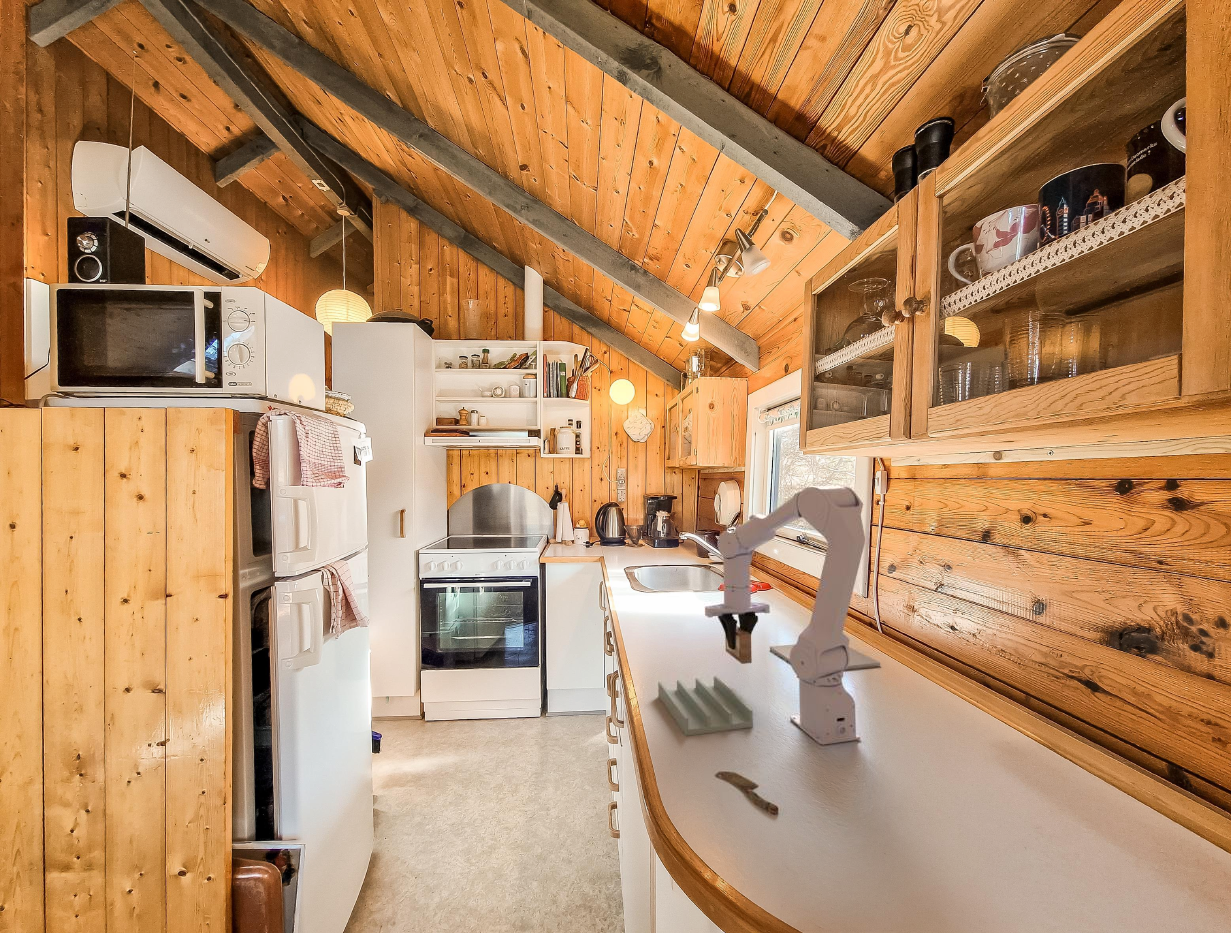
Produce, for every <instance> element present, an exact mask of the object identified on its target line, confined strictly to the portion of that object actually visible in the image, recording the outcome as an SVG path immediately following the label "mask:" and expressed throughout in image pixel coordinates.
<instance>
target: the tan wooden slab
mask: <svg viewBox="0 0 1231 933" xmlns="http://www.w3.org/2000/svg"><path fill="white" fill-rule="evenodd" d="M724 634H725V633H724ZM724 636H725V652H726V653H727V654H728V655H730V656H732V657H733V658H734V659H735V660H736V661H738V662H739V663H740V664H743V665H745V664H752V662H753V660H752V634H749V633H748V632H746V631H745V630H743V629H741V628H740V626H738V625H737V626H736V634H735V638H736V647H735V650H732V649H731V648H729V647H728V642H727V638H726V634H725V635H724Z"/></svg>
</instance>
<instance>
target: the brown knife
mask: <svg viewBox="0 0 1231 933" xmlns="http://www.w3.org/2000/svg"><path fill="white" fill-rule="evenodd" d="M714 777H715V778H717V779H719V780H722V781H725V782H727V783H729V784H731V785H732V786H734V787H736V788H737V789H738V790H740V791H741V792H742V793H744V795H745V796H747V797H748V799H750V801H751V802H753V803H754V804H755V805H756V806H758V808H760V809H762V810H764V811H765V810H766V811H765V812H767V813H769V812H770V813H769V814H771V813H772V814H771V815H775V814H776V815H778V814H779V807H778V806H777V805H776V804H774V803H771V802H769V801H767V800H766V799H764V798H763V797H761V796H760V795H758V794H757V793H756V792H755V791H753V790H754V789H756V788H758V787H759V784H757V783H756V782H754V781H752V780H750V779H748V778H747V777H745V776H743V775H740V774H739V773H737V772H734V771H723V770H722V771H721V770H720V771H718V772H717V773H715V774H714Z"/></svg>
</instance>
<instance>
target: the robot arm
mask: <svg viewBox="0 0 1231 933" xmlns="http://www.w3.org/2000/svg"><path fill="white" fill-rule="evenodd" d="M863 506H864V502H863V501H862V500H861V498H860V497H859V496H858V495H857V493H856V492H855V490H854V489H852V488H851V487H849V486H846V485H837V486H836V485H835V486H815V485H814V486H813V485H812V486H808V487H805V488H803V489H802V490H801V491H797V492H795V493H794V494H793V496H792V497H791V498H789V499H787V501H785V502H784V503H783V504H781V505H780V506H779V507H776V509H774V510H773V511H771V512H770V513H769V514H767V515H764V514H751V515H750V516H749V517H748V519H749V520H747V521H745V523H742V524H737V525H736V526H735V529H734V530H732V531H730V530H723V531H722V532H721V533H720V534H719V536H718V538H717V549H718V552H719V554H720V555H721V556H722V558H723V559H722V560H723V562H722V563H723V603H719V604H715V605H707V606H704V616H705V617H708V618H709V619H710V618H713V617H717V618H718V620H719V622H720V624H721V626H722V629H723V631H724V634H726V638H727V642H728V647H729V648H731V649H732V650H735V647H736V638H735V634H736V626H738V623H739V627H740V628H741V629H743V630H745V631H746V632H748V633H749V634H751V635H752V633H753V631H754V628H755V627H756V625H757V623H758V622H759V615H756V614H761V613H763V614H770V610H771V609H770V604H769V603H768V602H752V601H751V600H752V599H751V598H752V597H751V564H752V562H753V555H754V553H755V552H756V549H758V548H760V547H761V546H763V545H765V544H767V543H768V542H770V541H773V540H774V539H775V536H776V532H777V530H779V529H782V528H784V527H786V526H788V525H789V524H791V523H794V522H795V521H797V520H800V519H801V518H803V519H804V520H805V521H806V522H807V523H808V524H809V525H810V526H812V527H813V528H814V529H815V530H816V531H817V532H818V533H819V534H820V535H821V536H822V537H824V539H825V541H826V542H827V544H828V545H827V549H826V554H825V557H824V561H823V565H822V571H821V575H820V579H819V584H818V588H817V593H816V595H815V596H816V597H815V600H814V604H813V609H812V613H811V618H810V621H809V624H808V625H807V626H806V627H805V628H804V629H803V630H802V631H801V633H800V634H799V635H798V636H797V641H796V643H795V644H796V645H795V646H794V647H793V648H792V649H791V651H790V663H791V664H790V663H789V664H790V666H791V669H792V671H793V672H794V673H795V675H796V678H797V679H798V680H799V681H798V687H799V688H798V689H799V692H798V693H799V694H798V695H799V714H795V715H791V716H789V719H790V721H792V722H794V724H796V726H798V727H799V728H800V729H802V731H804V732H805V733H807V735H808V736H810V737H811V738H812V739H813V740H814V741H815V742H816V743H818V744H819V745H824V746H825V745H829V744H836V743H837V744H838V743H842V742H851V741H858V740H861V736H860V735H859V734H858V733H857V728H856V726H857V725H856V723H857V722H856V703H855V700H854V698H853V697H852V695H851V694H850V693H849V692H848V691H847V690H846V688H845V687H844V685H843V679H842V678H844V671H846V670H845V669H847V667H848V666H849V663H850V655H849V650H848V647H850V646H849V645H850V641H851V639H850V638H849V637H848V636H847V634H845V633H844V627H845V625H846V624H845V623H846V620H847V616H848V613H849V612H848V611H849V608H850V603H851V599H852V596H853V592H854V588H855V584H856V580H857V575H858V571H859V568H860V564H861V559H862V555H863V552H864V548H865V542H866V536H865V529H864V525H863V520H862V512H863ZM735 615H737V618H738V620H737V619H735Z"/></svg>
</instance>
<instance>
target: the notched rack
mask: <svg viewBox="0 0 1231 933" xmlns="http://www.w3.org/2000/svg"><path fill="white" fill-rule="evenodd" d="M657 692H658V698H659V700H660V701H661V702H662V704H663V705H664V706H665V708H666V709H667V711H668V712H669V714H670V716H671V717H672V718H673V719H674V721H675V722H676V724H677V725H678V726H679V729H681V731H682V733H683V734H684V735H685V736H688V737H689V736H695V735H702V734H709V733H715V732H716V733H718V732H725V731H732V730H740V729H741V730H742V729H748V727H749V728H753V727H754V718H753V717H754V714H753V713H754V711H753V709H752V708H751V707H750V706H749V705H748V704H746V703H745V702H744V701H743V700H742V699H741V698H740V697H739V696H738V695H737V694H736V693H735V692H734V691H733V690H732V689H731V688H729V686H727V685H726V684H725V683H724V682H723V681H722V680H721V679H720V678H719V677H718V676H716V675H714V676H713V685H709V686H708V685H707V686H706V684H705V683H704V682H703V681H702V680H701V679H700V678H699V677H695V687H691V688H690V687H689V688H688V687H686V686H685V684H684V683H683V682H682V681H681V680H680V679H676V689H672V690H671V689H670V690H667V688H666V687H665V685H664V684H663V683H662V682H661V681H658V689H657Z"/></svg>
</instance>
